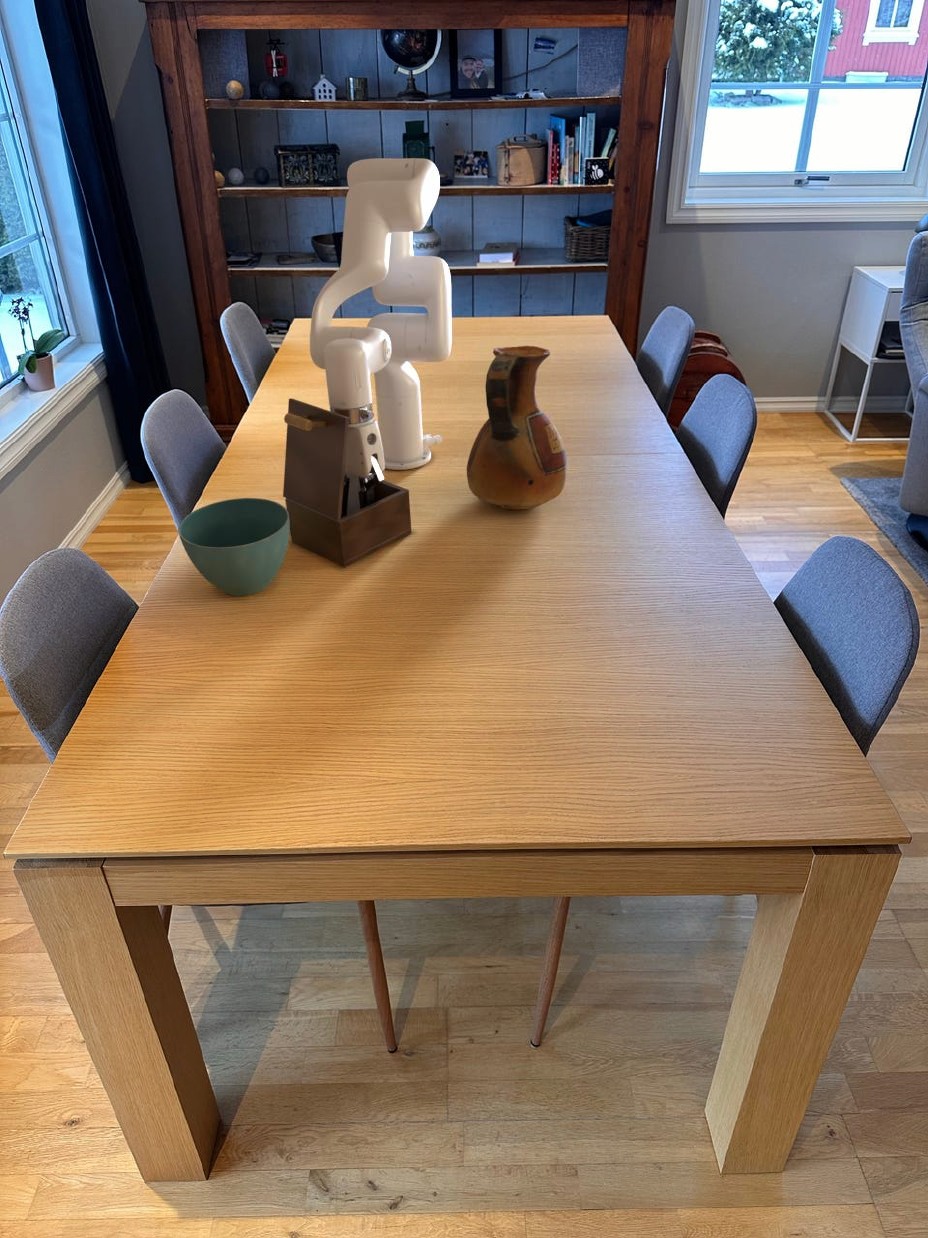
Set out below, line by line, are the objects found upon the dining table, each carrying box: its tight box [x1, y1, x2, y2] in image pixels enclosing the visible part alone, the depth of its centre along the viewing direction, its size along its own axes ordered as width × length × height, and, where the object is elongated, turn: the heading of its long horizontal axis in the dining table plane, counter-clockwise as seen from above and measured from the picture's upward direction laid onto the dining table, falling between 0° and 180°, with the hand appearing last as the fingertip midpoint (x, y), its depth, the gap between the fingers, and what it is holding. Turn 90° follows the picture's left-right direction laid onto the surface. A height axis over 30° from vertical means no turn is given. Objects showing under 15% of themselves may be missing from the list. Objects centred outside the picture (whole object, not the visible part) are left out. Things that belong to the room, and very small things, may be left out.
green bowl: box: [177, 497, 290, 597], centre depth 157 cm, size 18×18×12 cm
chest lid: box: [282, 398, 349, 521], centre depth 158 cm, size 18×15×5 cm
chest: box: [284, 478, 413, 568], centre depth 171 cm, size 17×15×9 cm
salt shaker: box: [345, 471, 368, 516], centre depth 172 cm, size 6×6×13 cm
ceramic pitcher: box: [466, 345, 568, 510], centre depth 178 cm, size 20×20×30 cm
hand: (360, 505), depth 172 cm, fingers open, 3 cm apart
